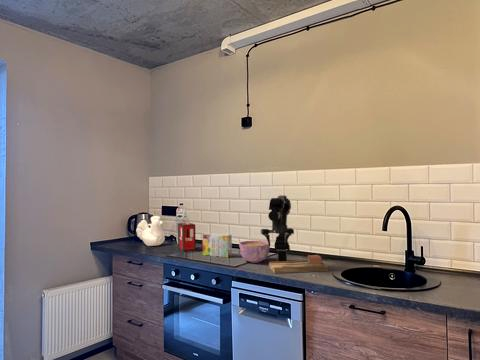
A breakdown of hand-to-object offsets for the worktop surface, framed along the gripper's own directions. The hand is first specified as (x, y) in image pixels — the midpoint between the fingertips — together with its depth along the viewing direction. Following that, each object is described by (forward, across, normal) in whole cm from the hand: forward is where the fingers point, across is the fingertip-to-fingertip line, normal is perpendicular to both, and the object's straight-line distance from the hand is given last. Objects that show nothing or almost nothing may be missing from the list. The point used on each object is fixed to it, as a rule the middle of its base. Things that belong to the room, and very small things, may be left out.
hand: (277, 246), depth 195 cm
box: (+12, +10, -7) cm, 17 cm away
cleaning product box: (+12, -56, +64) cm, 86 cm away
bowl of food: (+12, -11, +16) cm, 23 cm away
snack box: (+12, -34, +38) cm, 53 cm away
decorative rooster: (+12, -87, +92) cm, 128 cm away
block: (+10, +21, -3) cm, 24 cm away
